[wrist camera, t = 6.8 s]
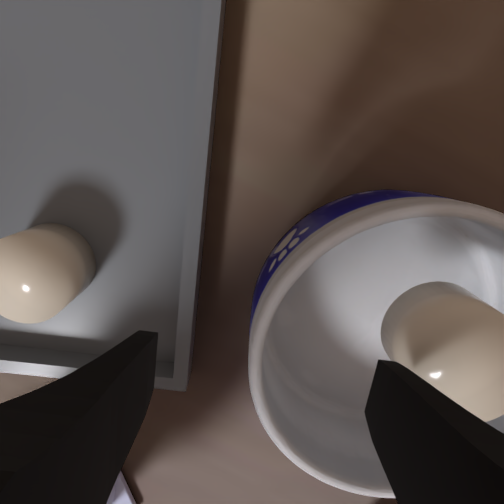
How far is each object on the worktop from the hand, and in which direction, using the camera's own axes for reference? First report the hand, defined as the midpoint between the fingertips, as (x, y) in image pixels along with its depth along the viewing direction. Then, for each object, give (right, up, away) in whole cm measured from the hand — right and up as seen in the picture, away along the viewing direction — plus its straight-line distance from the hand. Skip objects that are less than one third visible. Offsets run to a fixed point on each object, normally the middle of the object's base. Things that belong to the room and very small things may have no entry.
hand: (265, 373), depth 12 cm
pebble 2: (+7, +1, +4) cm, 8 cm away
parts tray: (-11, +9, +8) cm, 16 cm away
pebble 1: (-11, +3, +9) cm, 15 cm away
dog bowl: (+7, 0, +11) cm, 13 cm away
